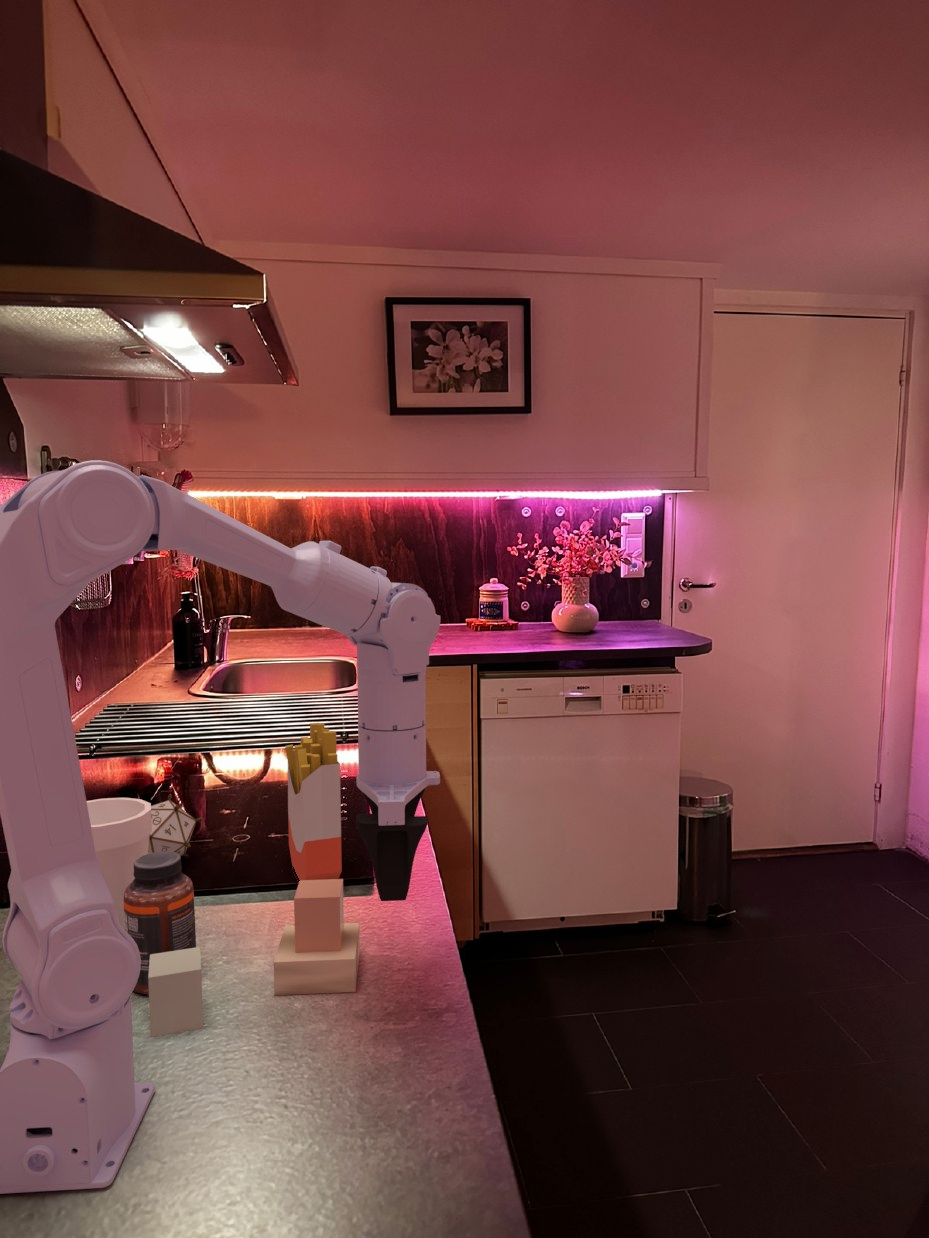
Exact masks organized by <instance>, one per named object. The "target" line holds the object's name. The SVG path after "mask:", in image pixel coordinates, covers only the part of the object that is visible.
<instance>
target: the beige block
mask: <svg viewBox="0 0 929 1238" xmlns="http://www.w3.org/2000/svg"><path fill="white" fill-rule="evenodd" d="M201 959H202V957H201V946H196V948H189V949H183V950H176V951H170V952H163V953H157V954H150V961H149V975H148V984H149V994H148V1000H149V1001H148V1002H149V1003H148V1004H149V1008H148V1009H149V1027H150V1029H149V1030H150V1032H149V1033H150V1034H149V1035H150V1038H154V1037H160V1036H166V1035H167V1036H168V1035H171V1034H176V1033H182V1032H188V1031H194V1030H198V1029H203V1028H204V1014H203V1012H204V1011H203V1009H204V1008H203V989H202V988H203V985H202V984H203V983H202V960H201Z"/></svg>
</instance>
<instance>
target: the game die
mask: <svg viewBox="0 0 929 1238" xmlns="http://www.w3.org/2000/svg"><path fill="white" fill-rule="evenodd" d="M172 799H173V795H172V794H171V793H169V794H168V795H167V800H165V801H164V800H163V801H160V802H159V803H155V804H152V805H151V822H152V833H150V836H149V846H148V854H149V853H154V852H163V851H170V852H175V853H178V854H179V855H180V857H182V856H183V857H184V856H185V857H186V856H189V857H190V854H189V853H186V852H187V851H188V848H190V847H191V848H192V846H191V843H190V841H191V839H192V836H193V833H194V831H195V827H196V825H197V822H198V823H199V822H202V820H203V819H204V817H201V816H199V817H197V818H196V817H195V818H194V816H192V815H191V814H190V813H188V812H187V811H185V810H184V809H183V808H182V807H180V804H176V802H174V801H172ZM185 857H184V858H185Z"/></svg>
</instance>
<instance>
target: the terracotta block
mask: <svg viewBox="0 0 929 1238" xmlns="http://www.w3.org/2000/svg"><path fill="white" fill-rule="evenodd" d="M293 908H294V909H293V913H294V916H293V917H294V925H295V953H305V952H331V951H341V946H342V939H343V933H344V923H345V919H344V914H345V913H344V912H345V911H344V910H345V909H344V878H339V879H326V880H300V881H299V882H298V885H297V888H296V892H295V894H294V897H293Z"/></svg>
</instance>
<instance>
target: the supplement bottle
mask: <svg viewBox="0 0 929 1238" xmlns="http://www.w3.org/2000/svg"><path fill="white" fill-rule="evenodd" d="M181 857H182V856H180V855H179V854H178V853H175V852H170V851H163V852H154V853H149V854H146V855H143V856H141V857H139V858H138V859H136V860H135V861H134V874H133V875H134V877H135V879H134V880H133V882H131V883H130V884H129V885H128V886H127V888H126V889H125V892H124V919H125V931H126V932H127V933H128V934H129V935H130V936H131V937H132V938H133V939H134V941H135V943H136V944H137V946H138V949H139V952H140V958H141V968H140V974H139V977H138V980H137V983H136V985H135V987H134V989H133V991H134V992H135V993H139V994H143V995H144V994H145V995H149V984H148V975H149V961H150V954H157V953H163V952H170V951H176V950H183V949H189V948H196V947H197V941H196V940H197V936H196V935H197V934H196V916H195V914H196V912H195V894H194V891H195V890H194V883H193V881H192V879H191V878H190V877H189V876H187V875H186V874H184V873H183V872H182V869H183V866H182V858H181Z"/></svg>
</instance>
